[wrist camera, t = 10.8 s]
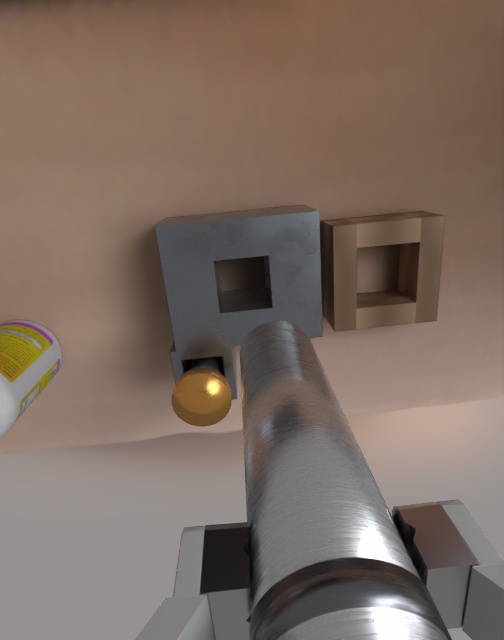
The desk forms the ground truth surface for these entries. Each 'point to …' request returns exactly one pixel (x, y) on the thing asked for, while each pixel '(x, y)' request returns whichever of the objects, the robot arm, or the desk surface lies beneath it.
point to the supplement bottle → (24, 367)
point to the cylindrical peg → (318, 510)
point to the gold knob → (202, 393)
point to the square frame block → (413, 277)
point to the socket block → (241, 305)
